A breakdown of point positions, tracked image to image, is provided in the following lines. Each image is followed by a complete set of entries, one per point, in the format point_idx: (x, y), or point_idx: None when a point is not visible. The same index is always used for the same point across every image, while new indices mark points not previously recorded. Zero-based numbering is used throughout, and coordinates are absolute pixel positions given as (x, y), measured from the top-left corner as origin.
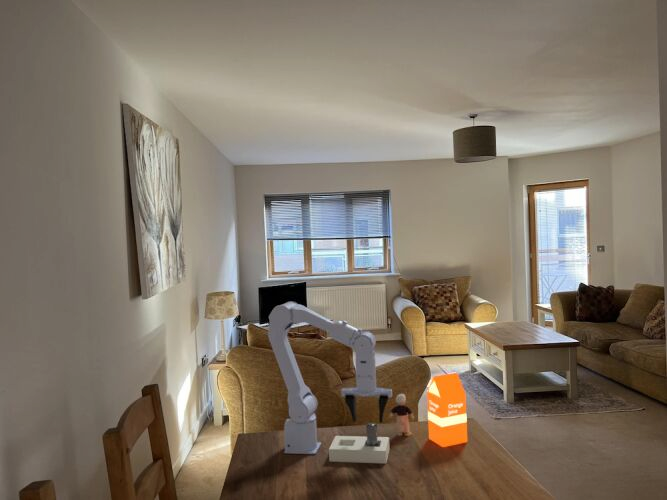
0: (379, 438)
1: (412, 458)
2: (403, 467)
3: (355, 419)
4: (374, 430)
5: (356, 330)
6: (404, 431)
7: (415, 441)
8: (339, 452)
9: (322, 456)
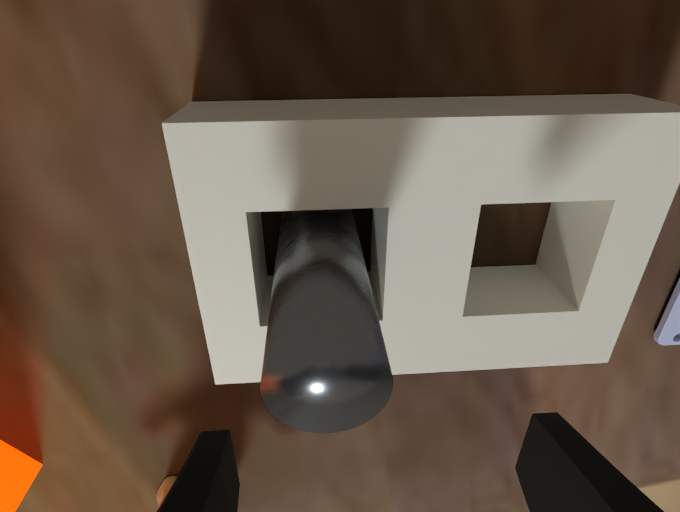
0: None
1: (26, 213)
2: (27, 39)
3: (542, 444)
4: (284, 314)
5: None
6: None
7: (106, 430)
8: (593, 109)
9: None
